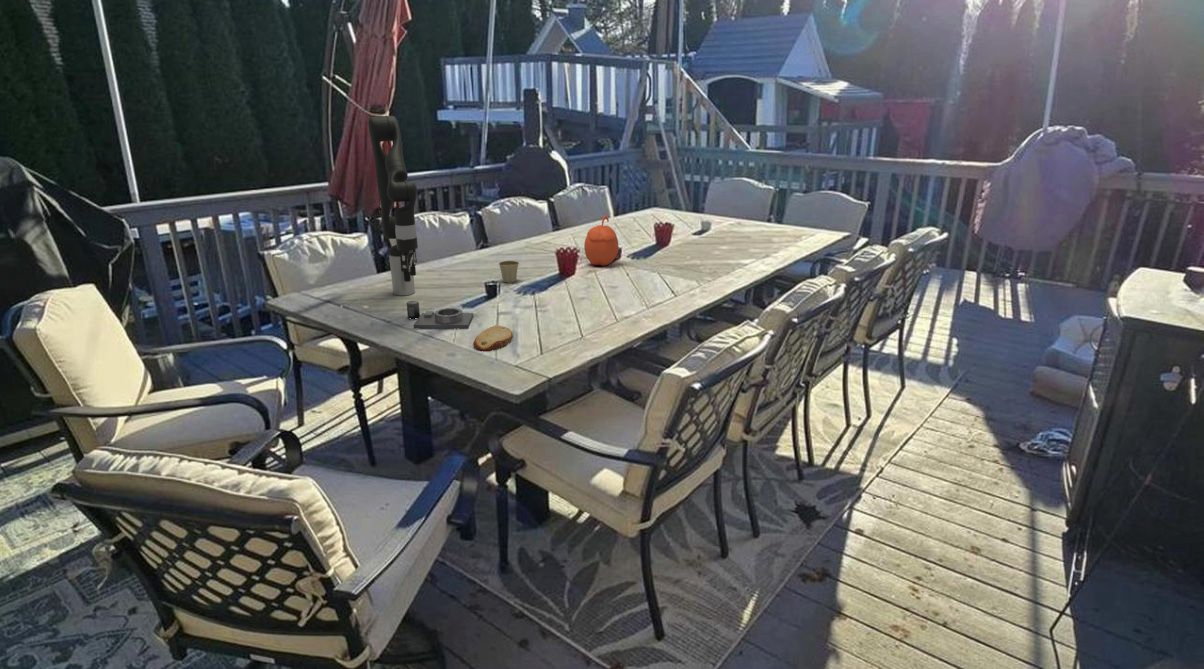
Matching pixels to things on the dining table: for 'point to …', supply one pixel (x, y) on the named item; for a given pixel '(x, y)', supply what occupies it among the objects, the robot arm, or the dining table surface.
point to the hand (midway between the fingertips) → (410, 278)
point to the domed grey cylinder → (413, 309)
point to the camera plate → (429, 322)
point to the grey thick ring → (448, 316)
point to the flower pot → (509, 270)
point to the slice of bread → (493, 338)
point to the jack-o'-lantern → (601, 244)
